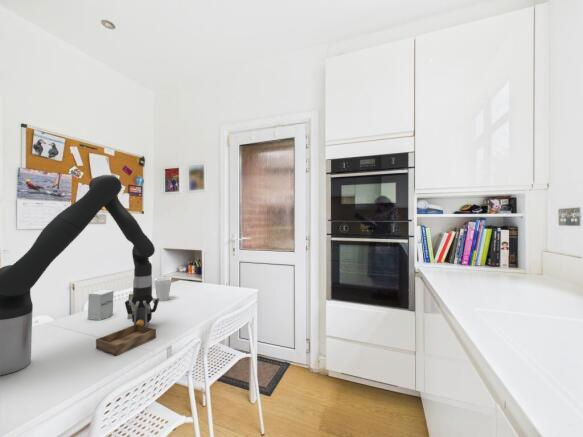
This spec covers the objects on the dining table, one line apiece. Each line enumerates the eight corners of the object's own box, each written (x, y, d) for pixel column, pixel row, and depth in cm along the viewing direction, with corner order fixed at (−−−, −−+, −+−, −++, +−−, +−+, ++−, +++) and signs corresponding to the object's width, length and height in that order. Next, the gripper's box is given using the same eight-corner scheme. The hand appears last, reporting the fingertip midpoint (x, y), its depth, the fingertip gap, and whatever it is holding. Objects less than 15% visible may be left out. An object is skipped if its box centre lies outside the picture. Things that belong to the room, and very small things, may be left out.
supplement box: (99, 320, 120) (100, 294, 120) (87, 319, 122) (87, 293, 122) (113, 315, 127) (114, 290, 128) (101, 314, 129) (102, 289, 129)
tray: (115, 356, 89) (115, 346, 89) (95, 348, 94) (96, 339, 94) (155, 337, 104) (156, 329, 104) (137, 331, 109) (137, 323, 109)
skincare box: (127, 319, 123) (127, 294, 123) (130, 315, 127) (130, 291, 127) (141, 317, 124) (142, 293, 125) (144, 314, 129) (144, 291, 129)
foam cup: (154, 298, 156) (155, 277, 156) (171, 296, 160) (171, 276, 160) (153, 303, 147) (154, 280, 147) (170, 301, 151) (171, 279, 151)
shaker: (137, 324, 117) (137, 307, 117) (149, 323, 118) (149, 306, 118) (133, 328, 112) (134, 310, 112) (146, 327, 113) (146, 309, 113)
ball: (141, 327, 114) (139, 329, 111) (135, 323, 114) (133, 325, 111) (146, 321, 115) (144, 322, 112) (140, 317, 114) (138, 318, 111)
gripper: (121, 288, 110) (121, 326, 109) (158, 286, 114) (157, 323, 113) (128, 283, 117) (127, 320, 117) (161, 282, 121) (160, 317, 121)
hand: (141, 321), depth 115 cm, fingers closed on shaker, 5 cm apart
